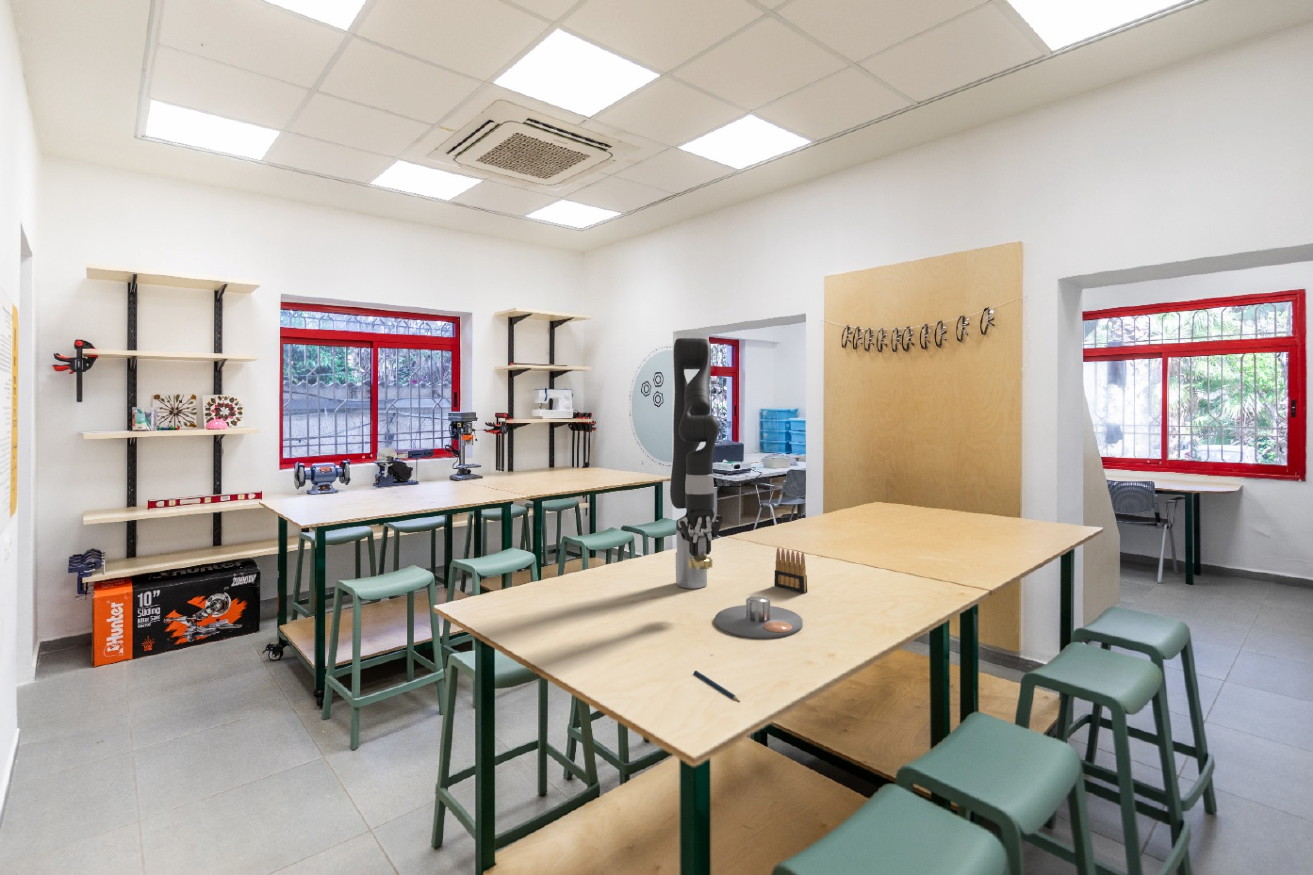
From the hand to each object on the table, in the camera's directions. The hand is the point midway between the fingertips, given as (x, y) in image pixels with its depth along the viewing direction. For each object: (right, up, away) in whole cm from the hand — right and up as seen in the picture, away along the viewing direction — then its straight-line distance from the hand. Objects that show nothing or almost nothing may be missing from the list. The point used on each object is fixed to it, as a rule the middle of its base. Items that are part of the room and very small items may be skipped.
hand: (700, 554), depth 169 cm
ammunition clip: (+28, -14, +20) cm, 38 cm away
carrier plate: (+14, -16, -7) cm, 23 cm away
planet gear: (0, -3, 0) cm, 3 cm away
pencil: (0, -19, -43) cm, 47 cm away
